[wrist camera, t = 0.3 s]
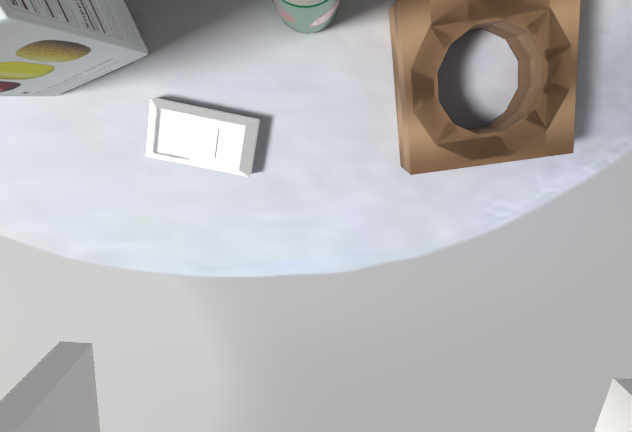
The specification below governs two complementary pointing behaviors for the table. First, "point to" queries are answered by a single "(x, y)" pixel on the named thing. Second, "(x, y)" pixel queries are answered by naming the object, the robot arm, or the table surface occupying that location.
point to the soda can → (306, 14)
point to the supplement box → (63, 44)
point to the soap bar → (201, 137)
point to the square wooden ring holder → (527, 103)
